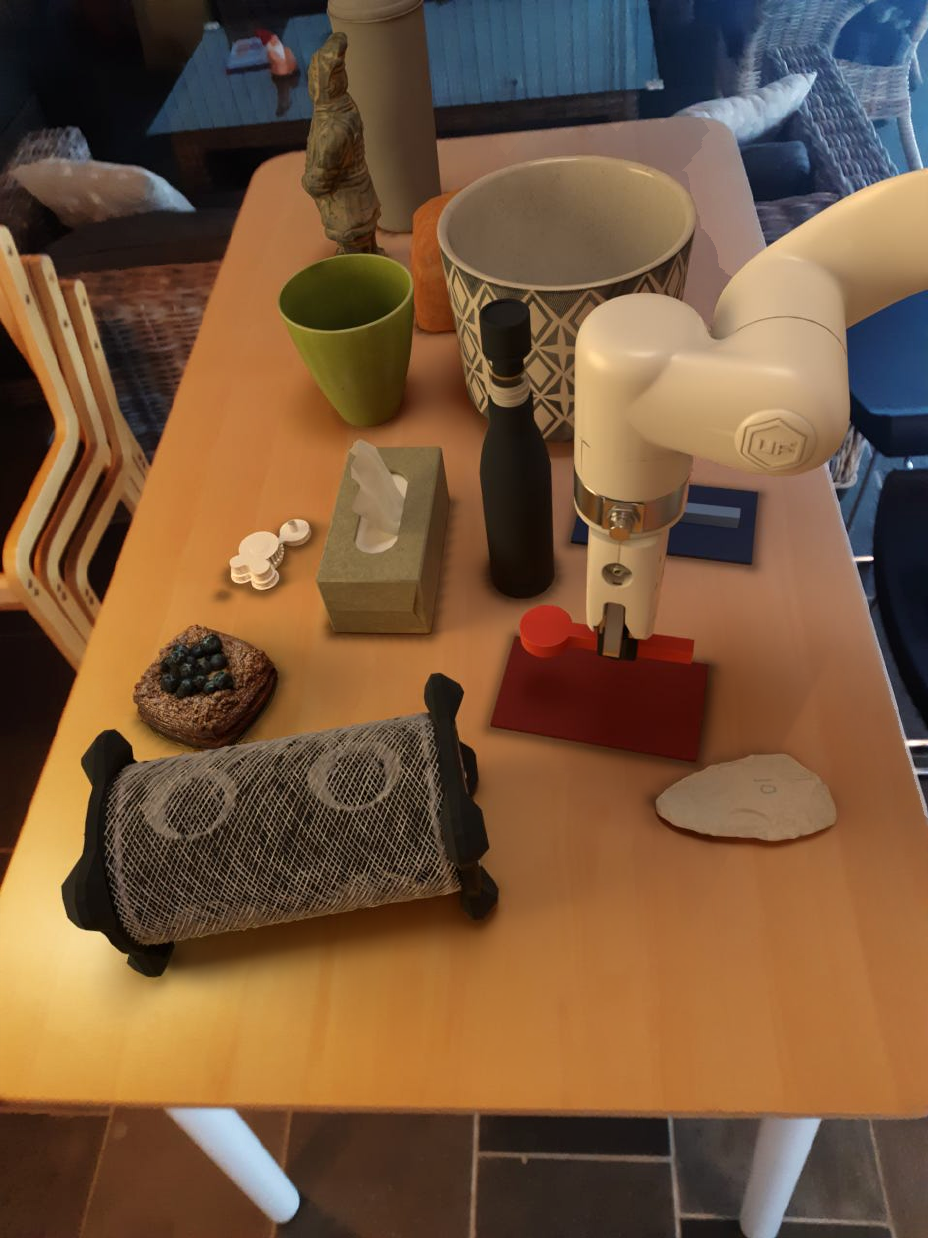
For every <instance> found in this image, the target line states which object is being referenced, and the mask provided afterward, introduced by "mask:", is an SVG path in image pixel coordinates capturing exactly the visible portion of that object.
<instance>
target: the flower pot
mask: <svg viewBox="0 0 928 1238" xmlns="http://www.w3.org/2000/svg"><path fill="white" fill-rule="evenodd" d="M277 308H278V311H279V313H280V316H281V319H282V321H283V323H284V324H285V327H286V330H287V331H288V334H289V336H290V337H291V339H292V342H293V344H294V346H295V347H296V350H297V352H298V353H299V355H300V357H301V359H302V361H303V363H304V364H305V366H306V368H307V369H308V371H309V373H310V374H311V376H312V377H313V379H314V381H315V383H316V384H317V386H318V388H319V389H320V390H321V391H322V393H323V394H324V395H325V397H326V399H327V400H328V401H329V402H330V404H331V405H332V406H333V408H334V409H335V410H336V411H337V412H338V414H339V416H340V417H342V419H343V420H344V421H345V422H346V423H348V424H349V425H352V426H356V427H362V428H363V427H364V428H367V427H368V428H370V427H375V426H380V425H382V424H385V423H387V422H388V421H389V420H391V419H392V418H393V417H395V416H396V415H397V413H398V412H399V409H400V407H401V404H402V399H403V396H404V393H405V389H406V384H407V379H408V374H409V368H410V362H411V361H410V360H411V355H412V347H413V346H412V345H413V336H414V335H413V334H414V318H415V306H414V281H413V277H412V272H410V270H409V269H408V268H407V267H406V266H405V265H404V264H403V263H401V262H399V261H397V260H395V259H393V258H390V257H387V256H386V257H384V256H380V255H374V254H347V255H339V256H335V255H334V256H331V257H327V258H323V259H321V260H319V261H316V262H313V263H311V264H309V265H307V266H304V267H303V268H302V269H300V270H299V271H297V272H295V273H294V274H292V276H291V277H289V279H287V280H286V281H285V283H284V284H283V285H282V287H281V289H280V290H279V293H278V297H277Z"/></svg>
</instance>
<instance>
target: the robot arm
mask: <svg viewBox="0 0 928 1238" xmlns="http://www.w3.org/2000/svg"><path fill="white" fill-rule="evenodd" d="M927 290H928V166H927V167H923V168H920V169H916V170H912V171H908V172H905V173H901V174H897V175H895V176H891V177H888V178H885V179H882V180H880V181H878V182H875V183H872V184H870V185H867V186H865V187H863V188H861V189H859V190H856V191H854V192H853V193H851V194H849V195H847V196H845V197H843V198H841V199H840V200H839V201H838V200H837V202H835V203H833V204H831V205H830V206H828V207H827V208H824V209H823V210H822V211H820V212H818V213H817V214H815V215H814V216H813V217H811V218H809V219H808V220H806V221H804V222H803V223H801V224H800V225H798V226H797V227H795V228H794V229H792V230H791V231H788V233H786V234H784V235H783V236H781V237H780V238H778V239H777V240H775V241H774V242H772V243H771V244H769V245H768V246H767V247H765V248H764V249H762V250H760V251H759V253H757V254H756V255H755V256H754V257H752V258H751V259H749V260H748V261H747V262H746V263H745V264H744V265H743V266H742V267H741V268H740V269H739V270H738V271H737V272H736V274H734V275H733V276H732V277H731V279H730V280H729V281H728V283H727V285H726V286H725V287H724V289H723V290H722V292H721V294H720V296H719V298H718V301H717V303H716V306H715V309H714V313H713V318H712V319H713V320H712V328H711V334H709V331H708V328H707V324H706V323H705V321H704V320H703V318H702V316H701V315H700V314H699V312H698V311H697V310H696V309H695V308H693V307H692V306H691V305H689V304H687V303H686V302H685V301H683V300H682V301H680V300H678V299H676V298H673V297H670V296H666V295H661V294H654V293H635V294H628V295H623V296H619V297H616V298H613V299H611V300H609V301H606V302H604V303H603V304H601V305H599V306H598V307H596V308H595V309H594V310H592V312H591V313H590V314H589V315H588V316H587V317H586V318H585V319H584V321H583V323H582V325H581V327H580V329H579V331H578V335H577V338H576V345H575V435H574V441H573V445H574V446H573V447H574V448H573V449H574V450H573V459H574V460H573V504H574V507H575V510H576V512H577V514H579V516H580V517H581V518H582V520H583V521H584V522H585V523H586V524H588V525H589V537H588V545H587V559H586V560H587V561H586V587H585V589H586V592H585V594H586V595H585V596H586V597H585V602H586V603H585V605H586V606H585V612H586V613H585V616H586V617H585V619H586V625H588V627H589V628H590V629H591V630H592V631H593V632H594V630H595V629H596V630H598V638H597V654H598V655H599V656H602V657H608V658H609V659H612V660H619V661H621V660H627V661H635V660H636V657H637V650H638V641H639V639H643V640H646V639H648V638H649V637H650V636H651V635H652V634H654V631H655V626H656V621H657V617H658V611H659V605H660V599H661V592H662V586H663V580H664V574H665V567H666V559H667V554H666V553H667V545H668V538H669V529H670V528H671V527H672V526H674V525H675V524H676V523H677V522H678V521H679V519H680V518H681V517H682V516H683V513H684V511H685V509H686V505H687V498H688V491H689V485H691V484H690V483H691V478H692V471H693V464H694V457H697V458H700V459H701V460H702V459H703V460H706V461H709V462H711V463H715V464H719V465H721V466H725V467H728V468H731V469H736V470H738V471H742V472H746V473H750V474H755V475H761V476H768V477H791V476H797V475H803V474H805V473H809V472H811V471H814V470H816V469H818V468H820V467H822V466H823V465H824V464H826V463H827V462H828V461H830V460H831V459H832V458H833V457H834V456H835V455H836V454H837V452H838V451H839V450H840V448H841V446H842V445H843V443H844V441H845V438H846V436H847V433H848V429H849V426H850V418H851V417H850V416H851V400H850V398H851V397H850V383H849V382H850V381H849V362H848V360H849V359H848V343H847V341H848V340H847V329H849V328H850V327H852V326H854V325H856V324H858V323H860V322H862V321H864V320H865V319H867V318H869V317H871V316H873V315H874V314H876V313H878V312H879V311H882V310H883V309H886V308H887V307H890V306H891V305H894V304H896V303H897V302H900V301H902V300H904V299H906V298H908V297H911V296H914V295H916V294H919V293H922V292H924V291H927Z"/></svg>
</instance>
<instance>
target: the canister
mask: <svg viewBox="0 0 928 1238" xmlns="http://www.w3.org/2000/svg"><path fill="white" fill-rule="evenodd" d="M424 1H425V0H327V8H326V14H327V15H328V17H329V22H330V26H331V29H332V30H331V32H332V34H333V33H335V32H344V33H345V34H346V36H347V43H348V46H347V50H346V52H345V53H346V54H345V59H344V60H345V64H346V65H345V70H346V73H347V77H348V88H347V92H348V93H349V94H350V95H351V97H352V98H353V100H354V102H355V103H356V105H357V107H358V110H359V113H360V117H361V120H362V121H363V125H364V131H363V138H364V145H365V148H364V150H365V155H364V156H365V160H366V163H367V166H368V170H369V174H370V176H371V179H372V183H373V186H374V189H375V192H376V195H377V197H378V199H379V201H380V204H381V207H380V210H381V216H380V218H379V219H378V221H377V225H376V226H378V227H379V228H381V229H383V230H385V231H389V232H393V233H407V232H409V233H410V232H413V214H414V213H415V212H416V211H417V209H418V208H419V207H420V206H422V205H423V204H425V203H426V202H427V201H429V200H430V199H431V198H434V197H437V196H440V195H443V194H442V185H441V175H440V165H439V164H440V163H439V162H440V161H439V154H438V153H439V152H438V142H437V131H436V119H435V110H434V100H433V89H432V81H431V69H430V60H429V50H428V49H429V48H428V40H427V30H426V29H427V28H426V19H425V10H424V9H425V8H424Z"/></svg>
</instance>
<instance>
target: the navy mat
mask: <svg viewBox="0 0 928 1238" xmlns="http://www.w3.org/2000/svg"><path fill="white" fill-rule="evenodd" d="M758 497H759V492H758V491H754V490H744V489H735V488H726V487H725V488H723V487H717V486H716V487H715V486H705V485H696V484H689V491H688V498H687V503H695V504H704V505H714V506H723V507H732V508H740V509H741V511H740V519H739V524H738V528H737V529H736V528H727V527H719V526H710V525H701V524H692V523H683V522H677V523H676V524H675V525H674V526H672V527H671V528H670V529H669V538H668V545H667V553H666V556H667V555H670V556H676V557H684V558H693V559H699V560H708V561H717V562H724V563H725V562H726V563H732V564H733V563H735V564H741V565H749V566H752V563H753V553H754V543H755V542H754V541H755V533H756V532H755V530H756V520H757V511H758V510H757V509H758V508H757V507H758ZM588 537H589V525H588V524H586V523H585V522H584V521H583V520H582V518H581V517H580V516H579V514H578V513H577V515H576V519H575V522H574V525H573V531H572V535H571V538H570V543H571V544H579V545H587V546H588Z"/></svg>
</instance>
